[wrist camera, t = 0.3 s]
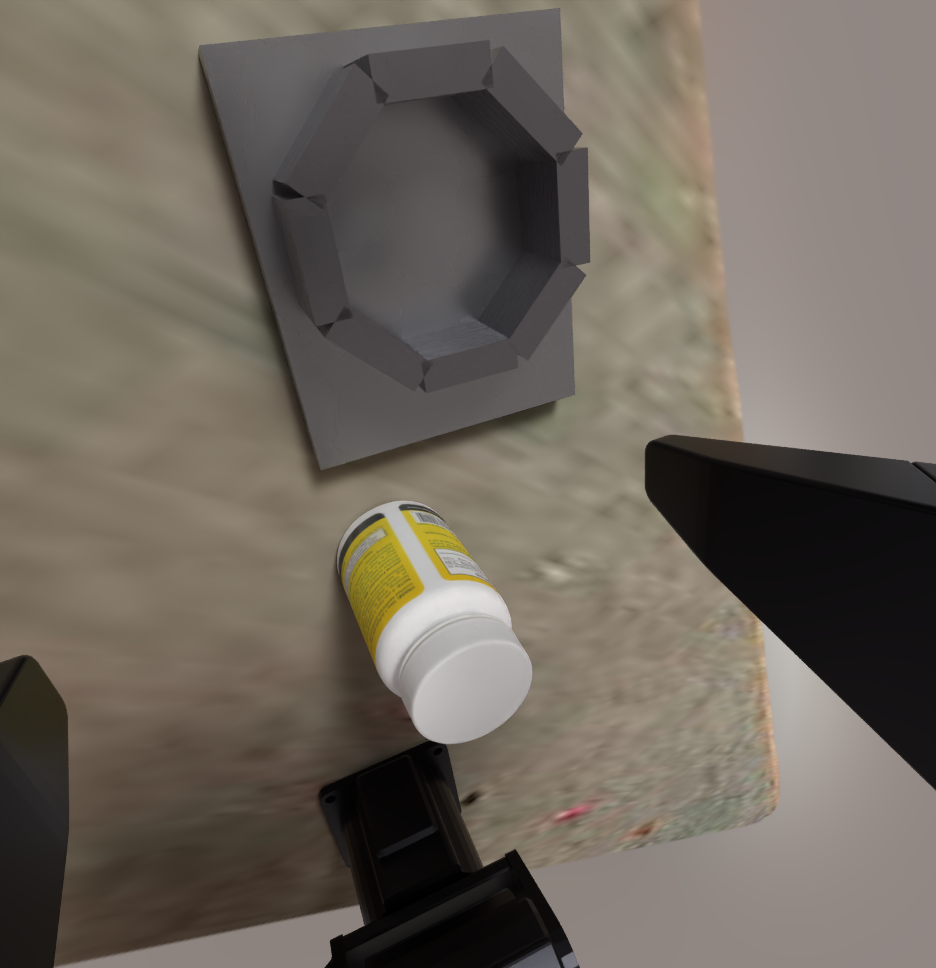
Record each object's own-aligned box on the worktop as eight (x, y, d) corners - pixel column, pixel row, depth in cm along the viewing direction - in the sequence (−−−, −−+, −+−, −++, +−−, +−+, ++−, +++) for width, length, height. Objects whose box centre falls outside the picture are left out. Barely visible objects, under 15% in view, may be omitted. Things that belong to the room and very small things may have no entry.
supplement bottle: (344, 610, 26) (405, 776, 19) (325, 514, 23) (387, 664, 17) (451, 578, 27) (544, 721, 20) (444, 484, 25) (545, 611, 18)
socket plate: (559, 385, 25) (612, 417, 22) (314, 456, 22) (336, 504, 19) (539, 15, 19) (609, -11, 16) (198, 51, 16) (203, 29, 13)
